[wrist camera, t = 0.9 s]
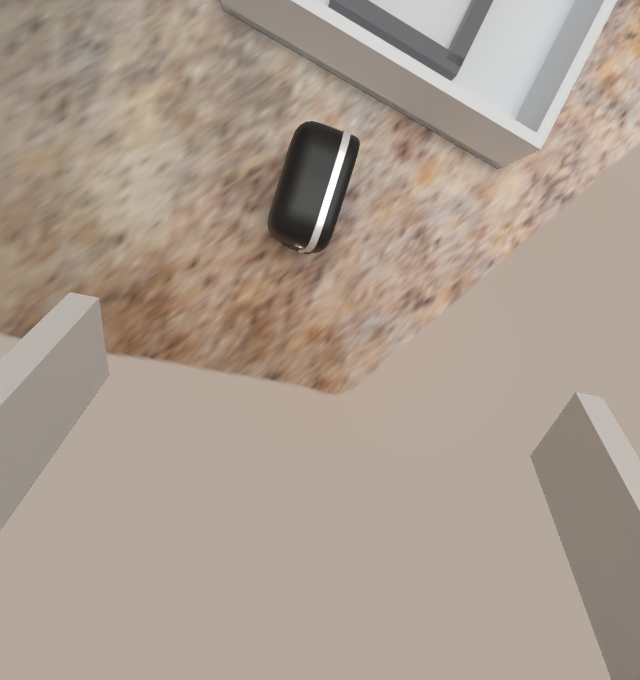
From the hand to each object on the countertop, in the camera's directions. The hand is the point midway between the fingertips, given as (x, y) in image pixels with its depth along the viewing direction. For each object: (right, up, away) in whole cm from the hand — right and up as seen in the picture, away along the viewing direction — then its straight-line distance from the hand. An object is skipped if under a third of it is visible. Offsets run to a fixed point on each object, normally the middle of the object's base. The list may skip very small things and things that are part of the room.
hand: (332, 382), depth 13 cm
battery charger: (-2, +12, +23) cm, 26 cm away
